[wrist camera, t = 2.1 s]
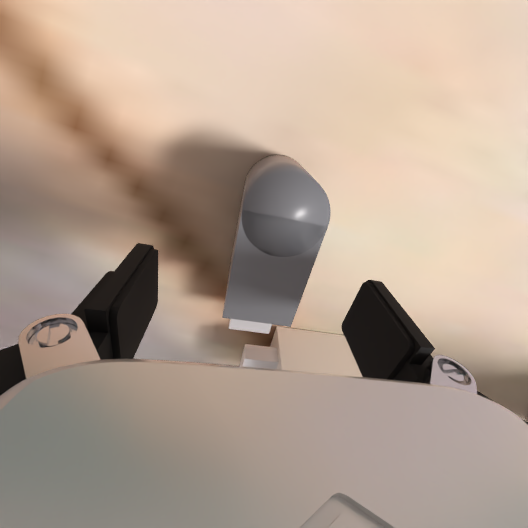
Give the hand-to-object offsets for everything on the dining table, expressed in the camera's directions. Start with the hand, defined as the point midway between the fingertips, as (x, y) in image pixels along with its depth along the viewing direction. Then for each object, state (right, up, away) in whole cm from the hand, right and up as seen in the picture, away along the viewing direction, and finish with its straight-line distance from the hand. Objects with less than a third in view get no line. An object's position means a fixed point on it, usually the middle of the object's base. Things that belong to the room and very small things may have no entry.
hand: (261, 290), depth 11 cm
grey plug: (0, +3, +6) cm, 7 cm away
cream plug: (+4, -6, +12) cm, 14 cm away
